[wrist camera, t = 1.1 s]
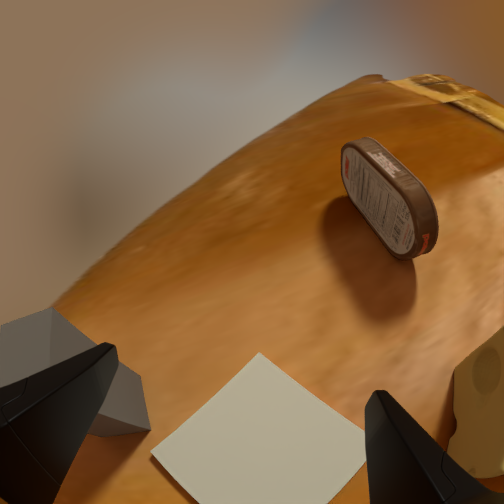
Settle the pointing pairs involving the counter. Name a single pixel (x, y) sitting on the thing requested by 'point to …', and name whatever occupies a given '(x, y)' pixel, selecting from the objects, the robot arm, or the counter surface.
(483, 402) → the cheese
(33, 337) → the block
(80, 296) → the counter surface
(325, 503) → the tile
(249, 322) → the counter surface
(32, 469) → the robot arm
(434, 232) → the tin
